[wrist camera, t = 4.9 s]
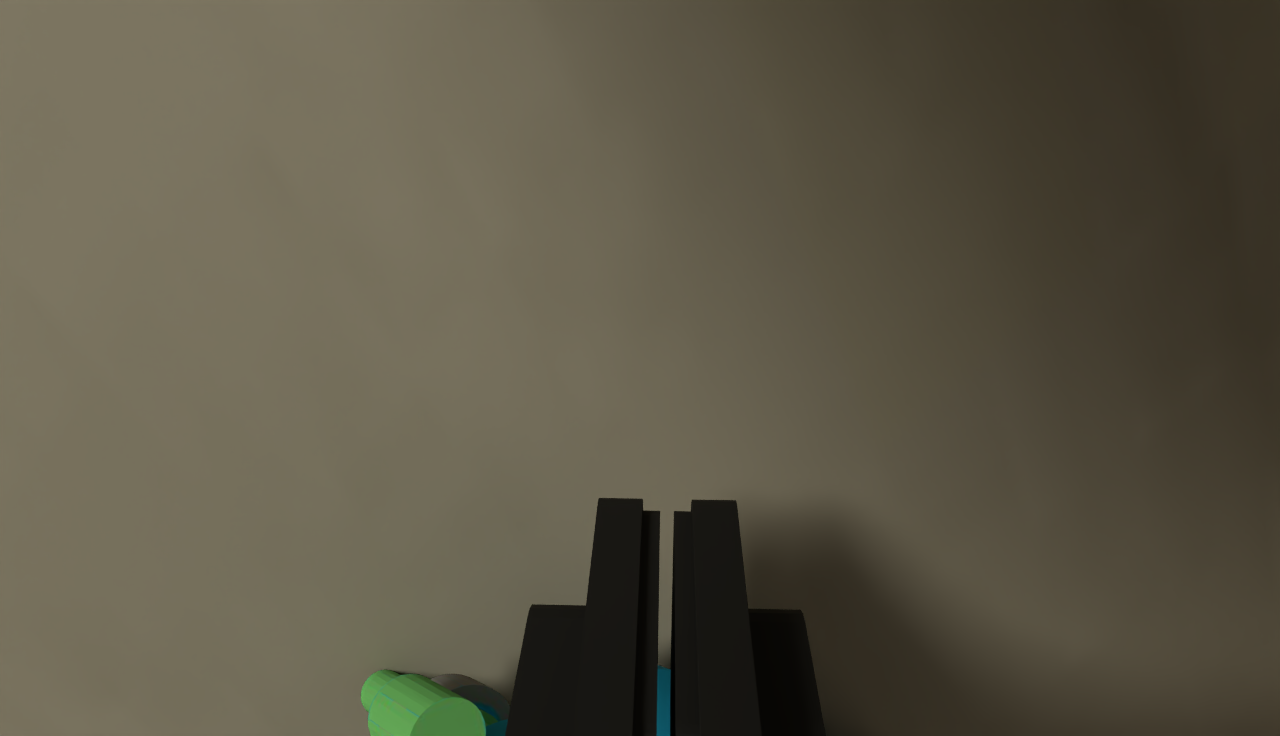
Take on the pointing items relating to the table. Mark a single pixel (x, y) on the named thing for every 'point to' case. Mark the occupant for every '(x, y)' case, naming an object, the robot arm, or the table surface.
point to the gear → (455, 705)
